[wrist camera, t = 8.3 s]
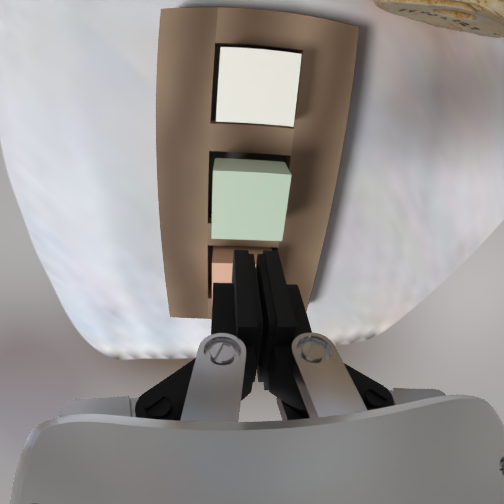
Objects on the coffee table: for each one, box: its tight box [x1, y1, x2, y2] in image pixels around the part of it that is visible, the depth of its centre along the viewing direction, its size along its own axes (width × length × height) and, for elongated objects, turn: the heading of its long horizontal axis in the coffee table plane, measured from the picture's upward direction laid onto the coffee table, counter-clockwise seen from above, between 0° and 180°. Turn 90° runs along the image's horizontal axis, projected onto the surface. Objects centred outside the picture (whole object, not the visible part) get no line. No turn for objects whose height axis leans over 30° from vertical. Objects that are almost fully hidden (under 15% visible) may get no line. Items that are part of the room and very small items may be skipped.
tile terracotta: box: [212, 245, 272, 299], centre depth 24 cm, size 4×4×2 cm
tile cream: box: [216, 47, 302, 127], centre depth 16 cm, size 4×4×2 cm
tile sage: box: [211, 158, 292, 241], centre depth 19 cm, size 4×4×2 cm
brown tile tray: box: [156, 7, 359, 319], centre depth 21 cm, size 12×24×2 cm, turn 176°
